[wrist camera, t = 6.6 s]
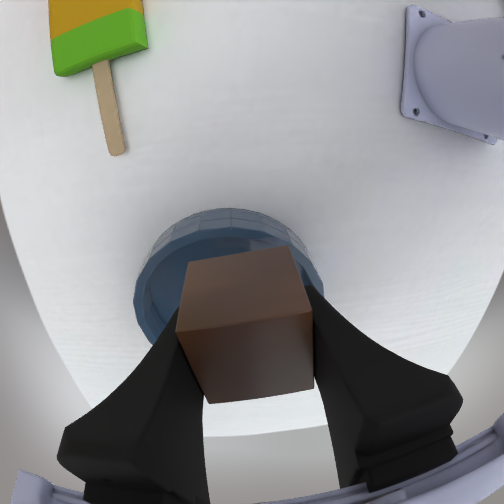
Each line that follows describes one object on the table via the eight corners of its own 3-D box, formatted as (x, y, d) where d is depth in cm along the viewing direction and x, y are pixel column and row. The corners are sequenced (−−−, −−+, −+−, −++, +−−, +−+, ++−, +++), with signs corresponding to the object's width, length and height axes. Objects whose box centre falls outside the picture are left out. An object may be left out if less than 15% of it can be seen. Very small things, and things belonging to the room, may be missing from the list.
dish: (327, 211, 19) (341, 229, 17) (300, 348, 25) (306, 373, 23) (133, 206, 18) (120, 225, 16) (155, 347, 24) (150, 372, 21)
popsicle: (138, -68, 9) (130, -80, 7) (166, 141, 16) (159, 147, 15) (59, -36, 9) (46, -44, 7) (84, 163, 16) (71, 171, 15)
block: (288, 244, 12) (312, 310, 8) (295, 320, 14) (314, 389, 10) (188, 261, 12) (174, 331, 8) (211, 333, 14) (208, 404, 10)
